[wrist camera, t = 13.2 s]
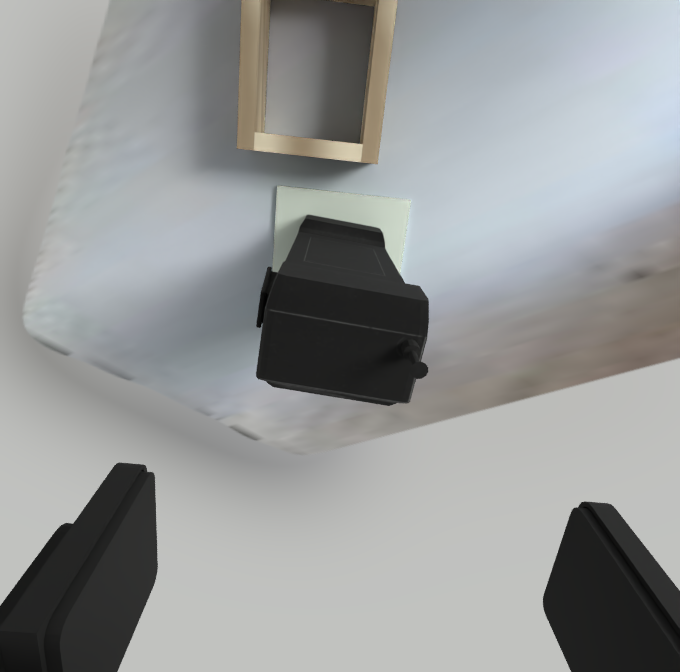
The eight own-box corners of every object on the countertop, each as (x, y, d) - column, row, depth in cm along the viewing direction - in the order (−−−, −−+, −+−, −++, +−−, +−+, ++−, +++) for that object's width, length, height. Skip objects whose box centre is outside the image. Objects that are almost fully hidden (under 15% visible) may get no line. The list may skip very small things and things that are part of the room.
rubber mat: (410, 199, 41) (411, 200, 40) (391, 324, 45) (392, 326, 44) (277, 185, 40) (277, 185, 40) (270, 313, 44) (269, 314, 44)
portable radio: (280, 281, 43) (215, 432, 19) (291, 210, 41) (233, 283, 17) (369, 296, 43) (412, 462, 20) (383, 228, 41) (451, 322, 18)
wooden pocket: (393, -11, 36) (402, -36, 31) (372, 163, 40) (377, 164, 35) (255, -29, 35) (243, -57, 31) (248, 149, 39) (236, 148, 35)
